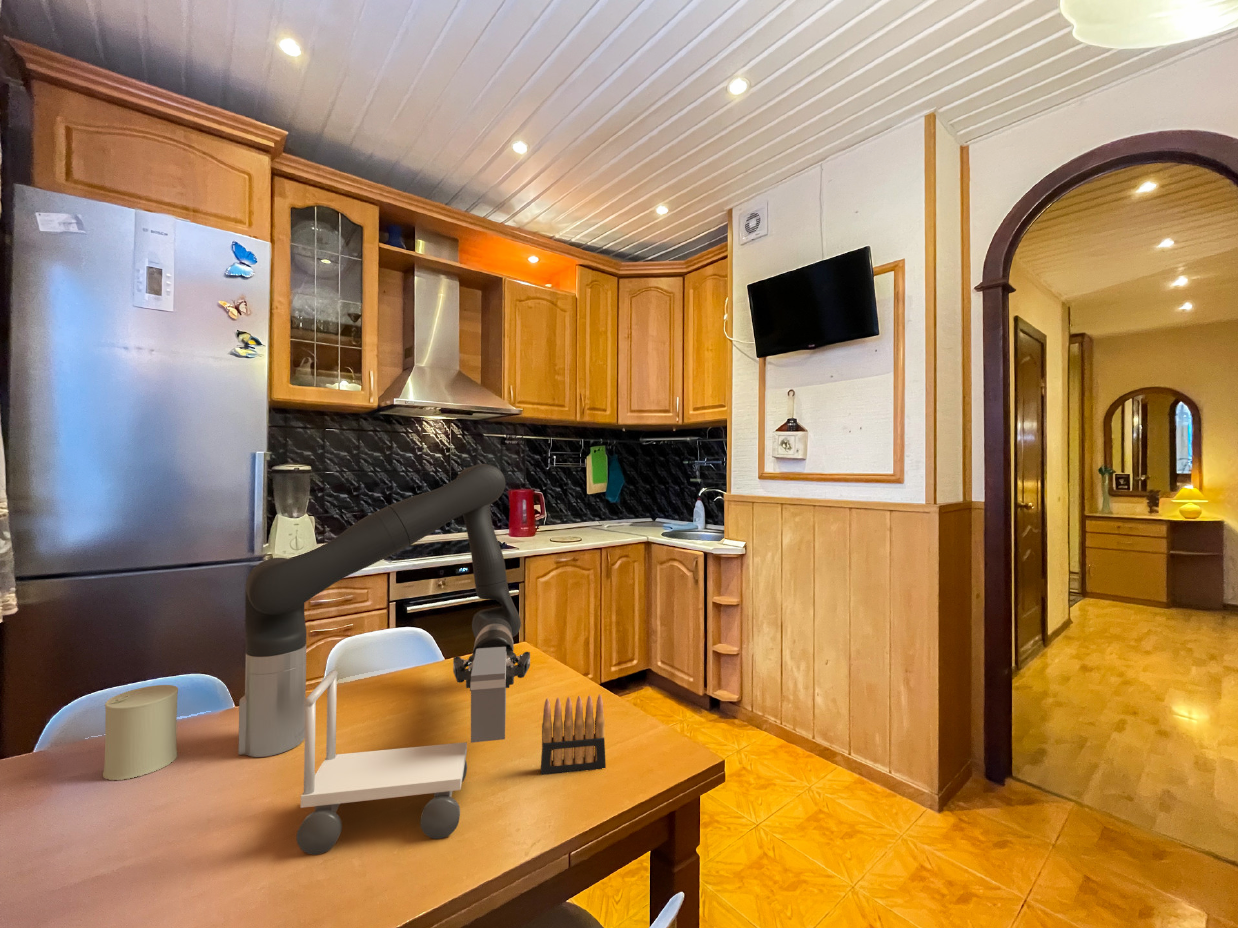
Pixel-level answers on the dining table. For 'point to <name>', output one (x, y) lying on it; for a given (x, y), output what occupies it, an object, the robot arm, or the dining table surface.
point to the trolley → (374, 779)
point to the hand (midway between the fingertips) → (490, 683)
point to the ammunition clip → (573, 738)
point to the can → (140, 731)
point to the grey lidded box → (488, 695)
